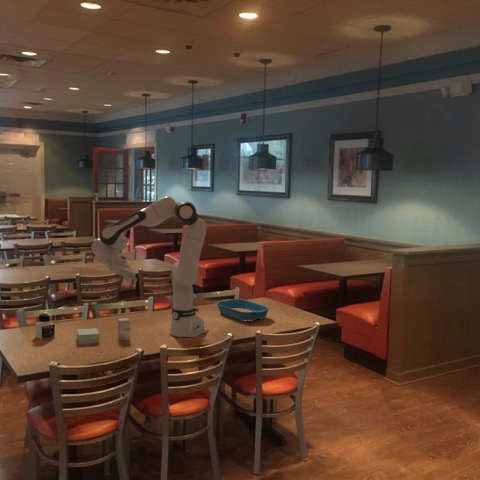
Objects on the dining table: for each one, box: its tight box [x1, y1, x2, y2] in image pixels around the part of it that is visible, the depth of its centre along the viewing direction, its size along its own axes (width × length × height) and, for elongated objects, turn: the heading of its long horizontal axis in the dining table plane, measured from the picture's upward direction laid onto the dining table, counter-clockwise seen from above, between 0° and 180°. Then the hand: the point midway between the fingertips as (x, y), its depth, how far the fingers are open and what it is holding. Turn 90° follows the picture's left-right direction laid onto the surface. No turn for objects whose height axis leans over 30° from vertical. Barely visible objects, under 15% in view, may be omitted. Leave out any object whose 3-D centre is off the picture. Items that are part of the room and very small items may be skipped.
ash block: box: [117, 317, 131, 341], centre depth 279 cm, size 5×5×10 cm
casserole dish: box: [216, 298, 270, 321], centre depth 333 cm, size 37×22×7 cm, turn 38°
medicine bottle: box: [34, 313, 56, 340], centre depth 276 cm, size 7×7×12 cm
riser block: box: [76, 327, 100, 345], centre depth 274 cm, size 10×10×5 cm
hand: (131, 279), depth 274 cm, fingers open, 8 cm apart
